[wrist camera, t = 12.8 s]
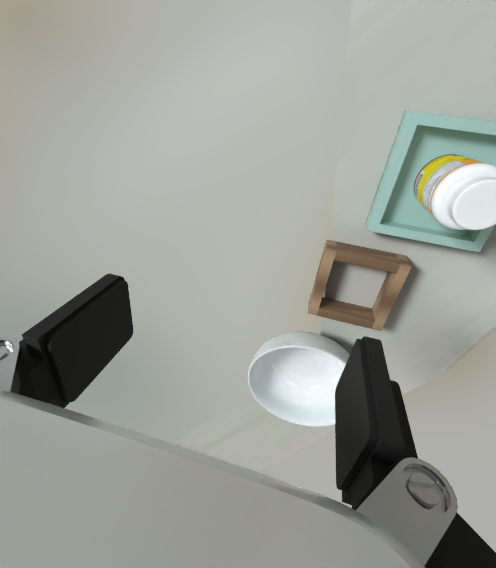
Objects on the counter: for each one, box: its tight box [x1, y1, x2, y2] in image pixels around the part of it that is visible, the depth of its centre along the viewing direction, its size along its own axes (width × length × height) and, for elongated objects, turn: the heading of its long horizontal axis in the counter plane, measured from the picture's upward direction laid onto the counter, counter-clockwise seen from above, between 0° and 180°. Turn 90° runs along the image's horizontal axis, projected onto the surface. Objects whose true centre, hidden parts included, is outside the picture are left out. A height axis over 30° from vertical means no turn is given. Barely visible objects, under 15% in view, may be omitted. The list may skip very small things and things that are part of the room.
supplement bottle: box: [413, 154, 496, 230], centre depth 27 cm, size 6×6×10 cm
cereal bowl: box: [248, 331, 350, 426], centre depth 46 cm, size 17×17×7 cm
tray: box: [366, 111, 496, 252], centre depth 30 cm, size 12×12×2 cm
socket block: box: [308, 240, 412, 331], centre depth 38 cm, size 10×10×3 cm
